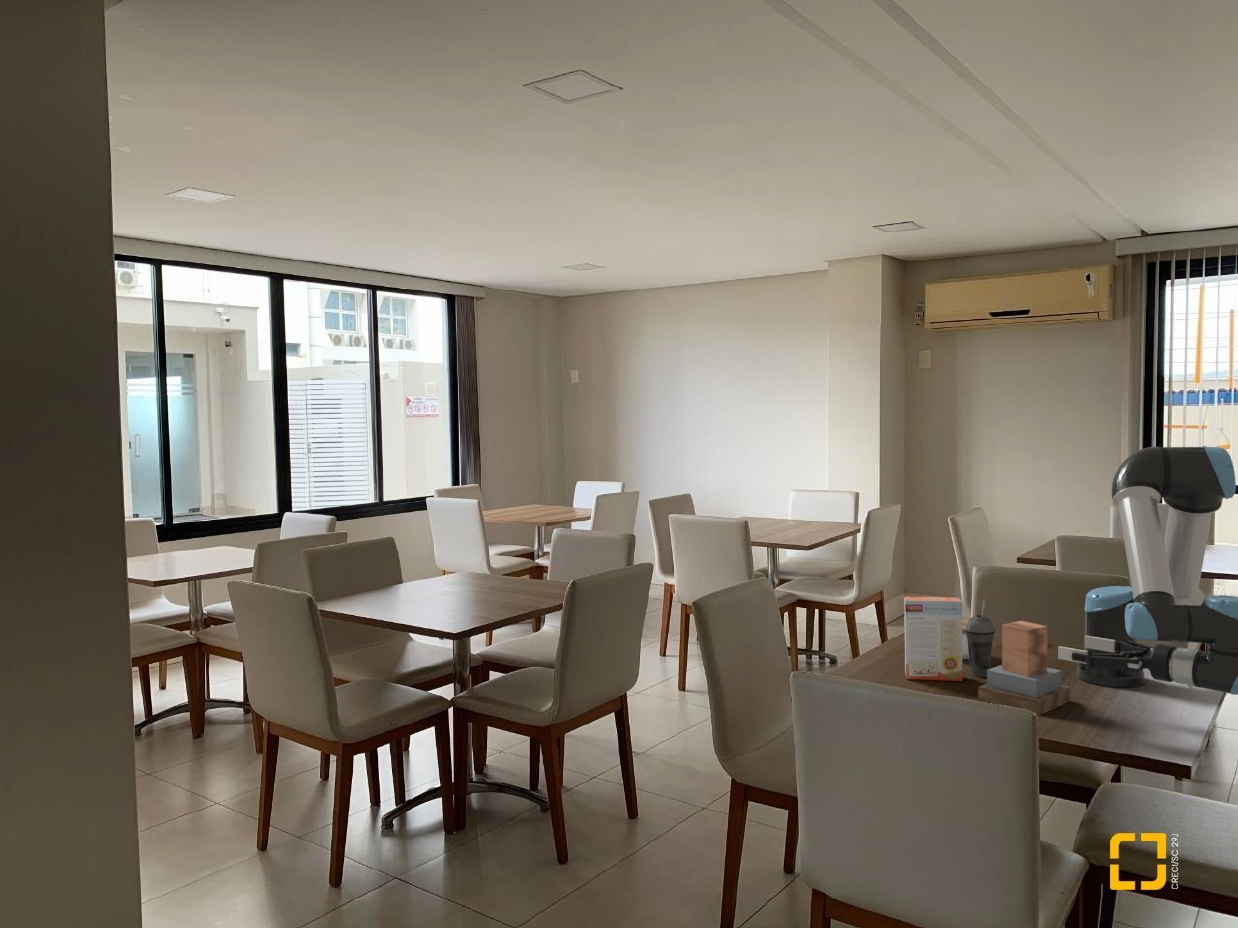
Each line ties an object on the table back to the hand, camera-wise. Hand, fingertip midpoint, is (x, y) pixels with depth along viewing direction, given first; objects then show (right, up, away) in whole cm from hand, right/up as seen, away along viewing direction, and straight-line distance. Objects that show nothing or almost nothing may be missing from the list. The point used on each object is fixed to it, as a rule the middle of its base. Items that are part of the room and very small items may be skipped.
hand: (1072, 646), depth 211 cm
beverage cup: (-9, -14, +31) cm, 35 cm away
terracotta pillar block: (-7, -7, +8) cm, 13 cm away
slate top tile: (-7, -11, +9) cm, 16 cm away
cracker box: (-22, -14, +30) cm, 39 cm away
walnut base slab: (-7, -15, +9) cm, 19 cm away
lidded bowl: (-7, -13, +50) cm, 52 cm away
